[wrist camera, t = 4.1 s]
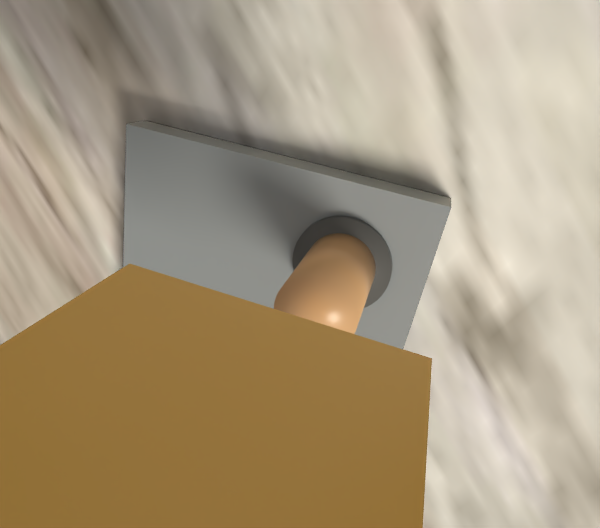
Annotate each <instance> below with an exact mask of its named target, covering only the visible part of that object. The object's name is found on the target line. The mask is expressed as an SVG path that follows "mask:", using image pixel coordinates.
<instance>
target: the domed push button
mask: <svg viewBox="0 0 600 528" xmlns="http://www.w3.org/2000/svg"><path fill="white" fill-rule="evenodd" d="M431 365H432V358H429V357H425V356H422V355H419V354H416V353H413V352H409V351H406V350H403V349H400V348H397V347H394V346H390V345H387V344H384V343H381V342H378V341H375V340H371V339H368V338H365V337H362V336H359V335H355V334H352V333H349V332H346V331H343V330H340V329H336V328H333V327H330V326H327V325H324V324H320V323H317V322H314V321H311V320H308V319H305V318H301V317H298V316H295V315H292V314H289V313H286V312H282V311H279V310H276V309H273V308H270V307H266V306H263V305H260V304H257V303H254V302H251V301H247V300H244V299H241V298H238V297H235V296H232V295H228V294H225V293H222V292H219V291H216V290H212V289H209V288H206V287H203V286H200V285H197V284H193V283H190V282H187V281H184V280H181V279H177V278H174V277H171V276H168V275H165V274H162V273H158V272H155V271H152V270H149V269H146V268H143V267H139V266H136V265H133V264H128V265H126V266H125V267H123V268H122V269H120V270H119V271H117V272H115V273H114V274H112V275H111V276H109V277H107V278H106V279H104V280H103V281H101V282H100V283H98V284H96V285H95V286H93V287H92V288H90V289H88V290H87V291H85V292H84V293H82V294H81V295H79V296H77V297H76V298H74V299H73V300H71V301H69V302H68V303H66V304H65V305H63V306H62V307H60V308H58V309H57V310H55V311H54V312H52V313H51V314H49V315H47V316H46V317H44V318H43V319H41V320H39V321H38V322H36V323H35V324H33V325H32V326H30V327H28V328H27V329H25V330H24V331H22V332H20V333H19V334H17V335H16V336H14V337H13V338H11V339H9V340H8V341H6V342H5V343H3V344H1V345H0V528H423V510H424V492H425V473H426V455H427V437H428V419H429V401H430V383H431Z"/></svg>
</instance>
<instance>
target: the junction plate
mask: <svg viewBox="0 0 600 528" xmlns="http://www.w3.org/2000/svg"><path fill="white" fill-rule="evenodd" d="M450 209H451V198H449V197H445V196H441V195H437V194H433V193H429V192H425V191H421V190H417V189H414V188H410V187H406V186H402V185H398V184H394V183H390V182H386V181H382V180H378V179H374V178H370V177H366V176H362V175H358V174H354V173H350V172H346V171H342V170H339V169H335V168H331V167H327V166H323V165H319V164H315V163H311V162H307V161H303V160H299V159H295V158H291V157H287V156H283V155H279V154H275V153H271V152H267V151H264V150H260V149H256V148H252V147H248V146H244V145H240V144H236V143H232V142H228V141H224V140H220V139H216V138H212V137H208V136H204V135H200V134H196V133H192V132H189V131H185V130H181V129H177V128H173V127H169V126H165V125H161V124H157V123H153V122H149V121H145V120H144V121H139V122H133V123H128V124H126V160H125V207H124V254H123V267H125V266H126V265H128V264H133V265H136V266H139V267H143V268H146V269H149V270H152V271H155V272H158V273H162V274H165V275H168V276H171V277H174V278H177V279H181V280H184V281H187V282H190V283H193V284H197V285H200V286H203V287H206V288H209V289H212V290H216V291H219V292H222V293H225V294H228V295H232V296H235V297H238V298H241V299H244V300H247V301H251V302H254V303H257V304H260V305H263V306H266V307H270V308H273V309H276V310H279V311H282V312H286V313H289V314H292V315H295V316H298V317H301V318H305V319H308V320H311V321H314V322H317V323H320V324H324V325H327V326H330V327H333V328H336V329H340V330H343V331H346V332H349V333H352V334H355V335H359V336H362V337H365V338H368V339H371V340H375V341H378V342H381V343H384V344H387V345H390V346H394V347H397V348H400V349H403V348H404V345H405V342H406V339H407V336H408V333H409V330H410V327H411V324H412V321H413V318H414V315H415V312H416V310H417V307H418V304H419V301H420V298H421V295H422V292H423V289H424V286H425V283H426V280H427V277H428V274H429V271H430V268H431V265H432V262H433V259H434V256H435V254H436V251H437V248H438V245H439V242H440V239H441V236H442V233H443V230H444V227H445V224H446V221H447V218H448V215H449V212H450Z"/></svg>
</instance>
